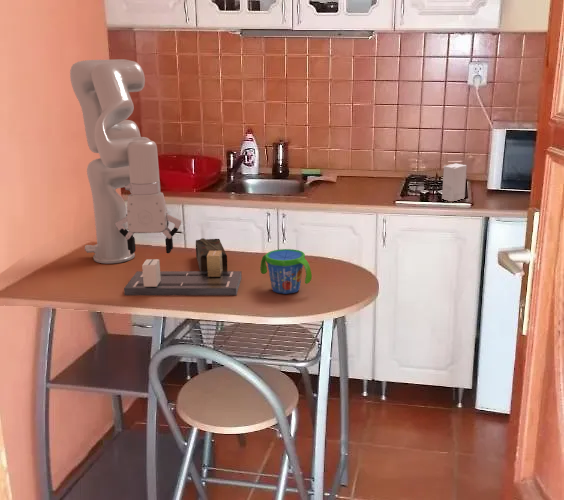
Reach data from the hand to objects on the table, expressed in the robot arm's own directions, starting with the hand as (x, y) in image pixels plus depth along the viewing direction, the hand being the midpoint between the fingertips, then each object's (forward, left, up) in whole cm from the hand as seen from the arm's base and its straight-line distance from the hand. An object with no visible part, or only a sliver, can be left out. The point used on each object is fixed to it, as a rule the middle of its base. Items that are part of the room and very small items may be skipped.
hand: (150, 252), depth 181 cm
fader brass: (+16, +9, -9) cm, 20 cm away
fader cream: (0, +1, -9) cm, 9 cm away
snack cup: (+36, +2, -12) cm, 38 cm away
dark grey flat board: (+8, +5, -11) cm, 14 cm away
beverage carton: (+12, +23, -12) cm, 29 cm away
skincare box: (+102, +110, -12) cm, 150 cm away
